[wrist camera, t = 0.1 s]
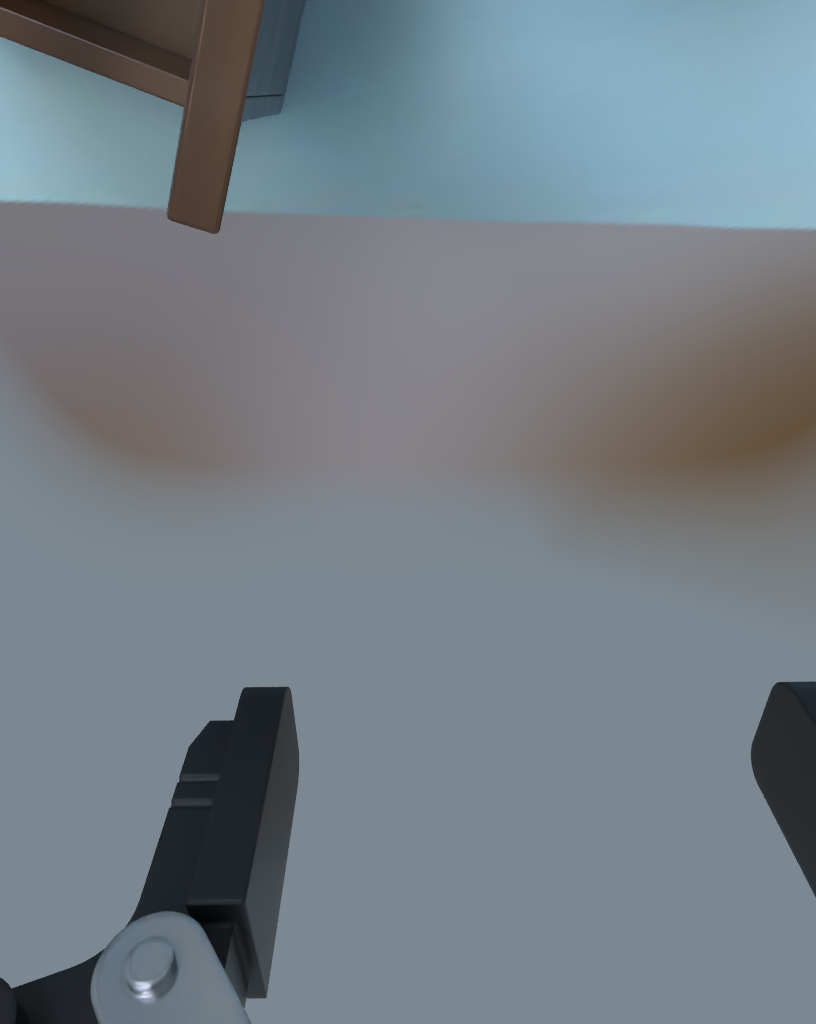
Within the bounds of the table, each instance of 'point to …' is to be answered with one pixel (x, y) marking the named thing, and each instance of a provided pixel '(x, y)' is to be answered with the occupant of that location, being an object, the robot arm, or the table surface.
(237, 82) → the lid
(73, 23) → the chest
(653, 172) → the table surface
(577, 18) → the table surface
